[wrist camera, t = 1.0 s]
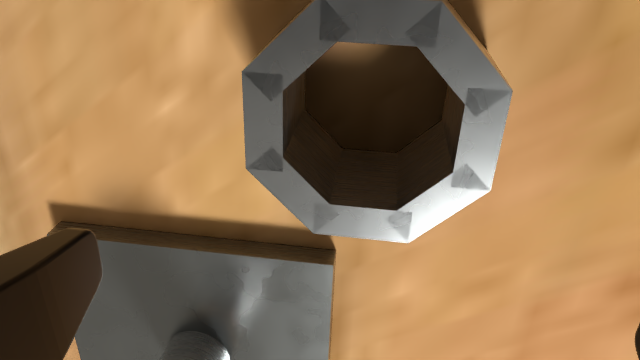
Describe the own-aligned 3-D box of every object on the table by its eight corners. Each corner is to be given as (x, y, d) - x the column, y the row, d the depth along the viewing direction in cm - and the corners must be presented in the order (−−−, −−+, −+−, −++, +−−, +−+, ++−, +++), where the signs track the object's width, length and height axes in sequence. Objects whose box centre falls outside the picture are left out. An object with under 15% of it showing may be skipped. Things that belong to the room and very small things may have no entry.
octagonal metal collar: (500, -17, 15) (531, 5, 12) (462, 185, 19) (477, 250, 15) (273, -28, 16) (238, -10, 12) (275, 169, 19) (248, 226, 16)
